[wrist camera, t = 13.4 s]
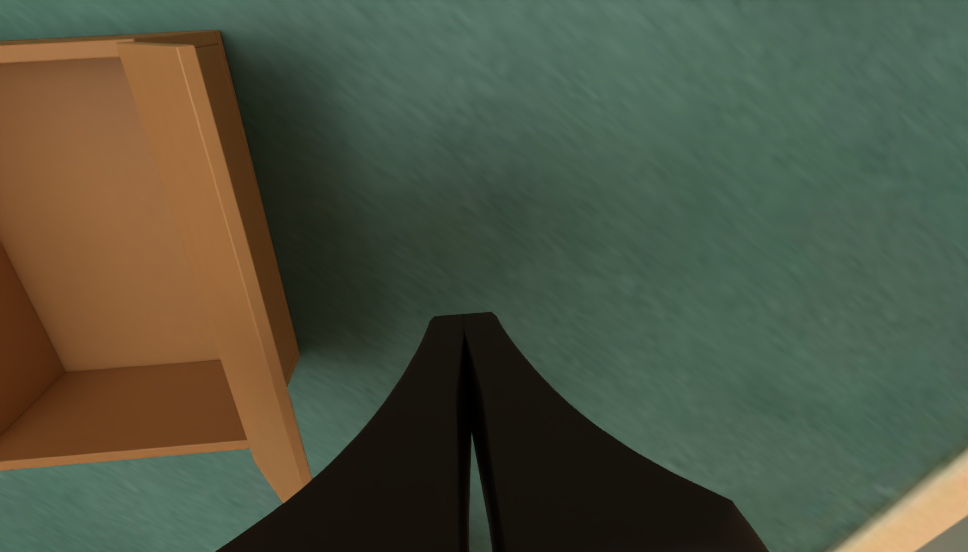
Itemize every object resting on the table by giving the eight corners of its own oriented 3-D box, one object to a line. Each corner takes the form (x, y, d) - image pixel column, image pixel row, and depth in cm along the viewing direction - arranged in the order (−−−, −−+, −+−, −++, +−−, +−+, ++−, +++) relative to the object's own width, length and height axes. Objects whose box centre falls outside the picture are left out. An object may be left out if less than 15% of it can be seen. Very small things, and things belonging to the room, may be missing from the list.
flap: (115, 42, 12) (130, 41, 12) (254, 462, 17) (263, 457, 18) (175, 46, 8) (195, 44, 9) (322, 559, 14) (332, 552, 14)
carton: (219, 29, 17) (133, 37, 12) (300, 355, 23) (263, 447, 18) (-99, 46, 17) (-319, 61, 12) (66, 374, 22) (-36, 474, 18)
